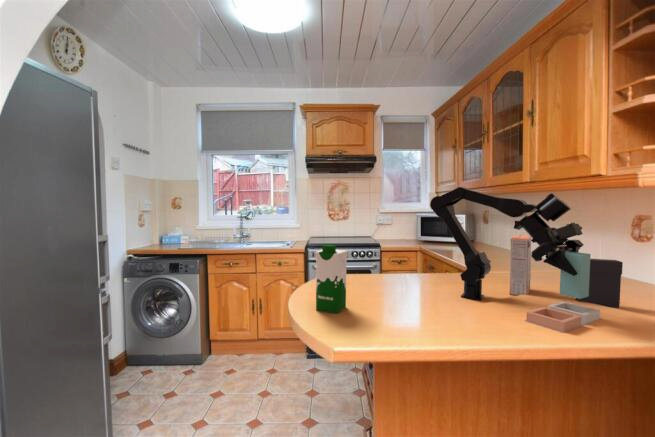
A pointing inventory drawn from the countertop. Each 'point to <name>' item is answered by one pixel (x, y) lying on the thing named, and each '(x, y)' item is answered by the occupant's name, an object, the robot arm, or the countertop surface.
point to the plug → (576, 276)
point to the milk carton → (330, 279)
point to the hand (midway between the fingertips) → (580, 273)
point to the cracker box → (520, 265)
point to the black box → (604, 283)
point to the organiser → (563, 316)
